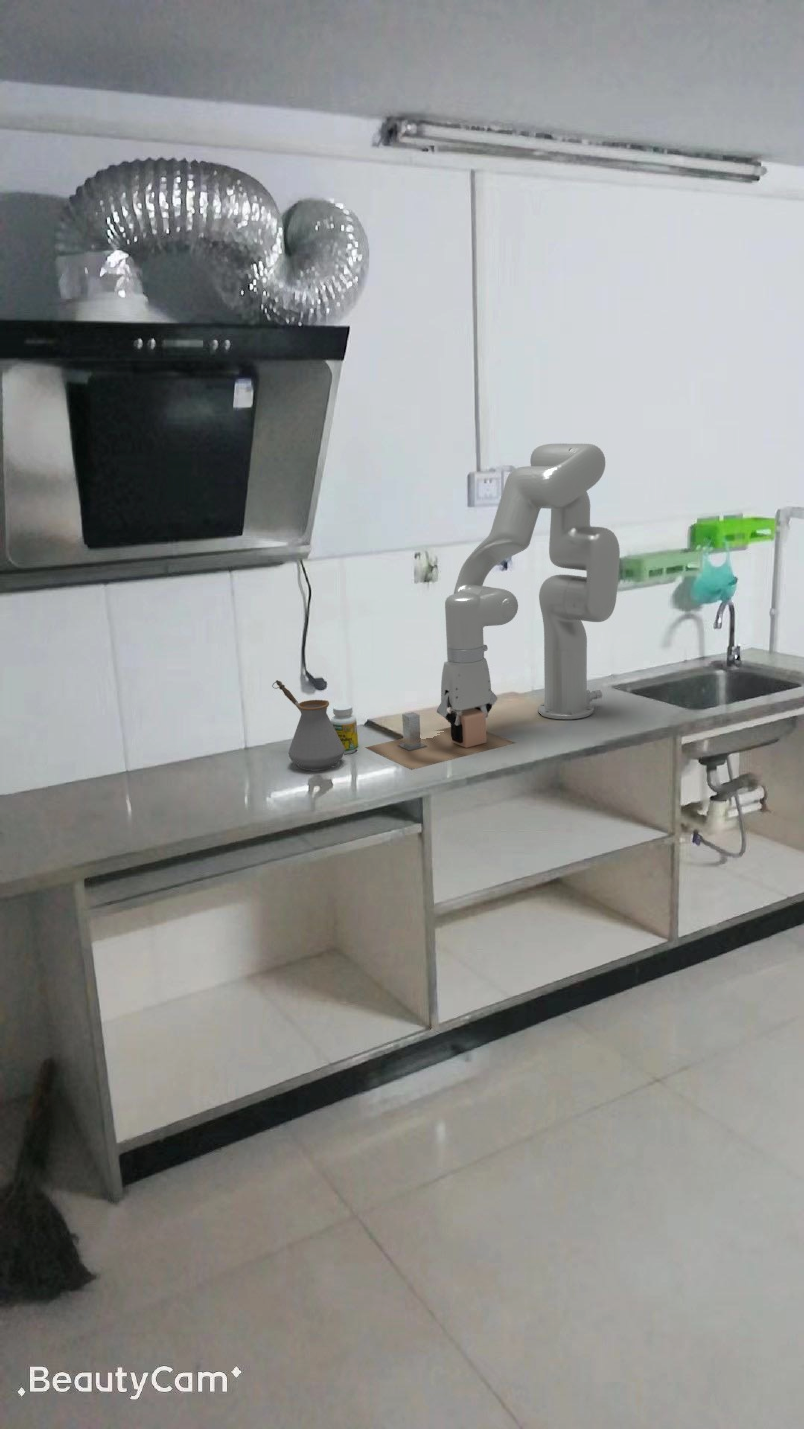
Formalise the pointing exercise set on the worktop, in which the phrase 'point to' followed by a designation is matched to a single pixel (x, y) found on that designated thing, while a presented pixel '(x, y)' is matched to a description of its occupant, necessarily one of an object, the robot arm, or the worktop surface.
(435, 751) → the board
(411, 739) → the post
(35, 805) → the worktop surface
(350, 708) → the supplement bottle
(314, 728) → the coffee pot
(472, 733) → the tan wooden brick
